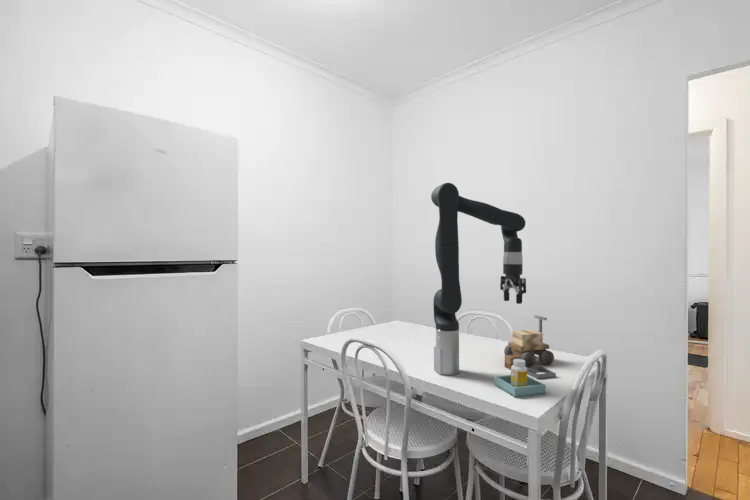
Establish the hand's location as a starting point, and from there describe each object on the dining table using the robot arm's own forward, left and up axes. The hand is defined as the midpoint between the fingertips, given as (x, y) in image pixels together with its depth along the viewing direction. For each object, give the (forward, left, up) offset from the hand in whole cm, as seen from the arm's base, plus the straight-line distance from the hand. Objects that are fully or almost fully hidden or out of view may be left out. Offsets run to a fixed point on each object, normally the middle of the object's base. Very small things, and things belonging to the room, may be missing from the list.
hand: (512, 302), depth 155 cm
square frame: (+5, -10, -27) cm, 29 cm away
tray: (-12, -21, -27) cm, 37 cm away
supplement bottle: (-12, -21, -27) cm, 36 cm away
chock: (0, 0, -27) cm, 27 cm away
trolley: (+12, +6, -27) cm, 30 cm away
